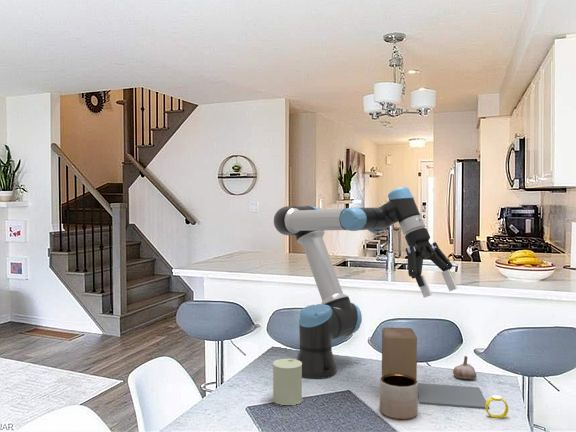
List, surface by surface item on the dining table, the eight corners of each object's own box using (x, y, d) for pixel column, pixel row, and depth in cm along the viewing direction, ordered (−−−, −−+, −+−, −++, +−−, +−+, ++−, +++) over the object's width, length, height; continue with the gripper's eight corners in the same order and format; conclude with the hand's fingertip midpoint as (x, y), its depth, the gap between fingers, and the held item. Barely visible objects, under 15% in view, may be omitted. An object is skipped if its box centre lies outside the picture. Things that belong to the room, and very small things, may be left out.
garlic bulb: (480, 380, 169) (480, 357, 169) (464, 383, 166) (464, 360, 166) (464, 373, 176) (465, 351, 176) (448, 376, 173) (448, 353, 173)
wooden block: (412, 387, 162) (412, 327, 162) (416, 399, 152) (417, 335, 152) (381, 386, 163) (381, 326, 163) (384, 397, 153) (384, 334, 153)
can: (306, 396, 155) (306, 358, 154) (297, 407, 146) (297, 368, 145) (278, 392, 158) (278, 355, 157) (268, 403, 149) (268, 364, 149)
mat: (419, 403, 149) (419, 401, 149) (416, 384, 165) (416, 382, 165) (489, 409, 145) (489, 407, 145) (479, 389, 161) (479, 387, 161)
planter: (394, 423, 136) (394, 389, 135) (372, 408, 146) (372, 376, 145) (425, 416, 140) (425, 383, 140) (402, 402, 150) (402, 371, 150)
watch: (487, 419, 139) (486, 398, 139) (484, 415, 142) (483, 395, 141) (509, 419, 138) (508, 398, 138) (506, 414, 141) (505, 394, 141)
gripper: (398, 229, 150) (425, 295, 144) (446, 224, 166) (472, 283, 159) (382, 239, 156) (407, 302, 149) (429, 233, 171) (454, 291, 164)
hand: (441, 293), depth 154 cm, fingers open, 13 cm apart
